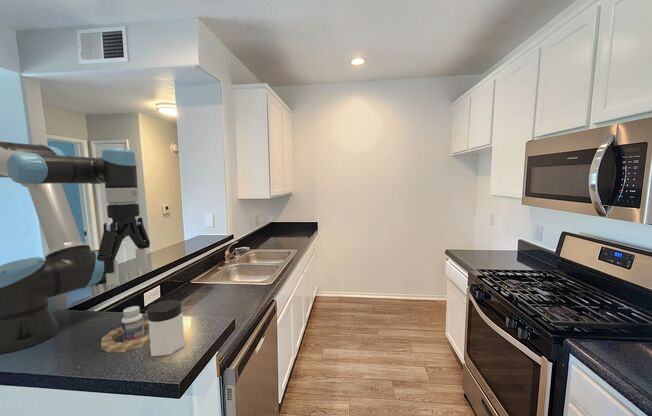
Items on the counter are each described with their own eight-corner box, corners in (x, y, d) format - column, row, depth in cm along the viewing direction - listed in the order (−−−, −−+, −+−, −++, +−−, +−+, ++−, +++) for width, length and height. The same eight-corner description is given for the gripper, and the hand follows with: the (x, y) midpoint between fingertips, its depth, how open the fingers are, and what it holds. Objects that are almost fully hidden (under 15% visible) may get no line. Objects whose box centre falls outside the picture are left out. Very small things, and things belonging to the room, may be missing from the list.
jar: (190, 338, 82) (187, 298, 82) (178, 355, 74) (175, 311, 73) (157, 340, 82) (154, 300, 81) (142, 358, 74) (138, 313, 73)
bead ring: (87, 354, 76) (87, 348, 76) (123, 326, 91) (123, 321, 91) (146, 350, 77) (146, 345, 77) (172, 323, 92) (172, 319, 92)
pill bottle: (125, 335, 85) (123, 307, 84) (145, 331, 87) (143, 303, 86) (120, 344, 80) (118, 314, 80) (142, 340, 82) (139, 310, 82)
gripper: (106, 206, 69) (113, 291, 70) (159, 200, 93) (163, 263, 95) (73, 207, 68) (81, 292, 70) (135, 201, 93) (140, 264, 95)
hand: (128, 276), depth 82 cm, fingers open, 13 cm apart
